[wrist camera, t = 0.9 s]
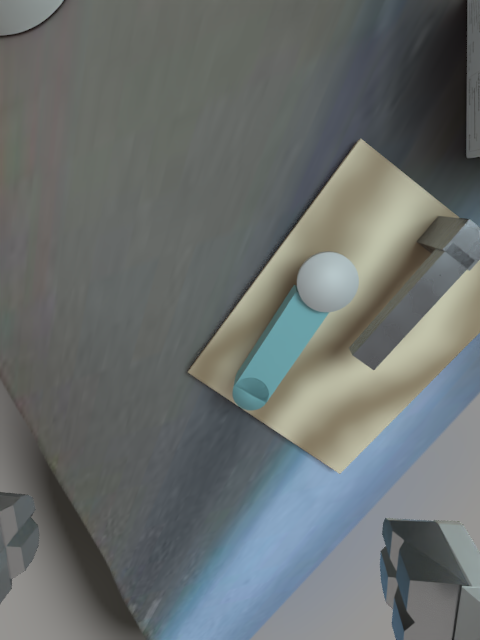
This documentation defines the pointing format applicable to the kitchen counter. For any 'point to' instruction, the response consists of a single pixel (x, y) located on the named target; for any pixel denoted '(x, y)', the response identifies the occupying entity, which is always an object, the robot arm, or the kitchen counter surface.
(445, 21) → the kitchen counter surface
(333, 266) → the lever with ball knob
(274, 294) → the base board
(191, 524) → the kitchen counter surface
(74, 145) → the kitchen counter surface
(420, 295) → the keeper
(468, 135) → the light bulb box
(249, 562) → the kitchen counter surface
